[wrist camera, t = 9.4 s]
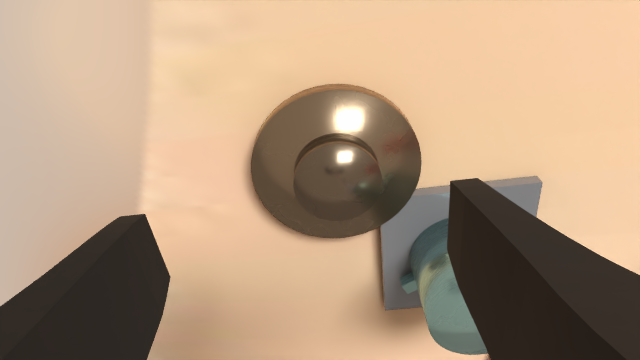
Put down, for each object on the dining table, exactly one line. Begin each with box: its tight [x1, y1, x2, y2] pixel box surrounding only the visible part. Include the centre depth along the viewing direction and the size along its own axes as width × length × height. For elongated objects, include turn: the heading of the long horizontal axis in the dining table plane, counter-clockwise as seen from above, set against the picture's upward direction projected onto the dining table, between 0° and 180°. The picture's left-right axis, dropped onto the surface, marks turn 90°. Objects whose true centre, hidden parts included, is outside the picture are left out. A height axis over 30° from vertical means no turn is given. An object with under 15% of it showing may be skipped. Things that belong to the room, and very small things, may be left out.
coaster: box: [380, 176, 542, 310], centre depth 24 cm, size 8×8×1 cm
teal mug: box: [399, 218, 488, 355], centre depth 22 cm, size 7×5×4 cm
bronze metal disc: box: [251, 84, 421, 238], centre depth 20 cm, size 8×8×2 cm
